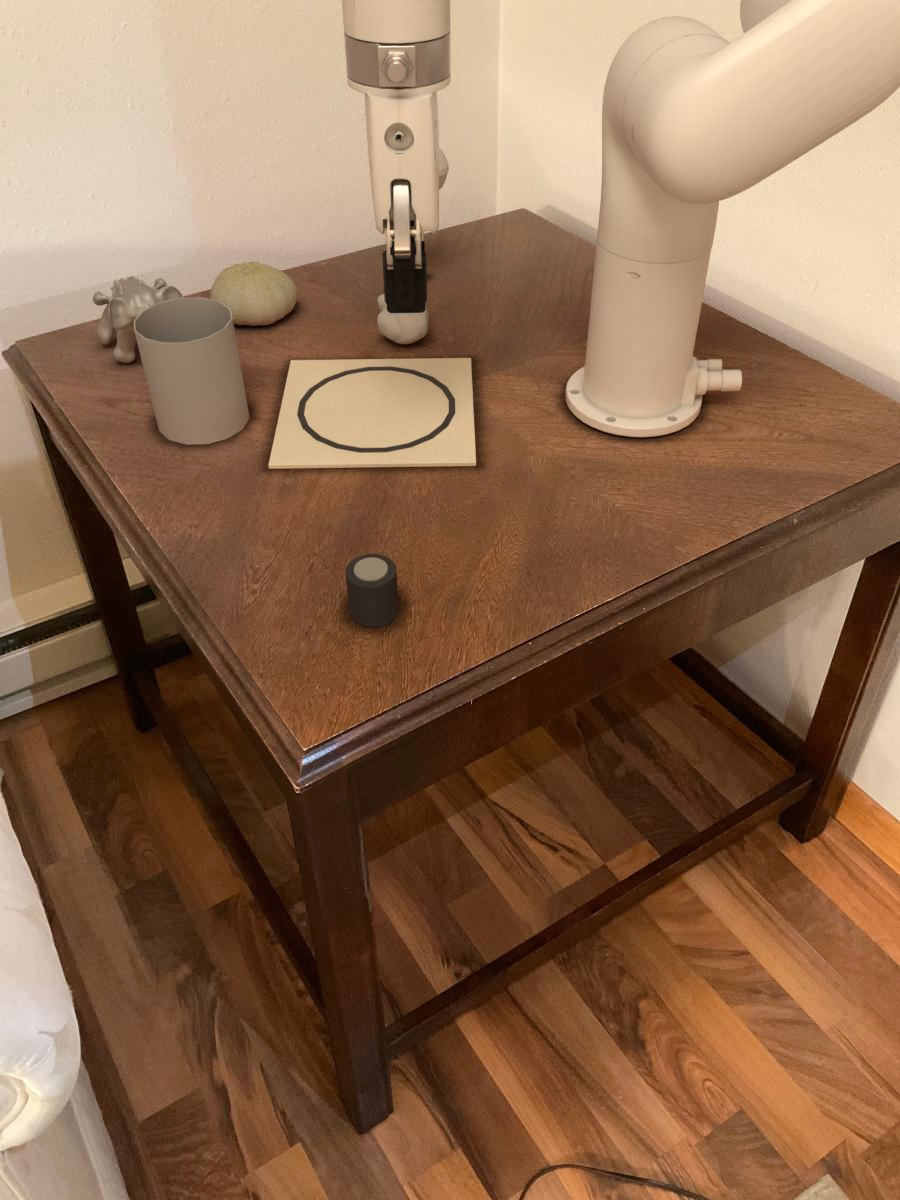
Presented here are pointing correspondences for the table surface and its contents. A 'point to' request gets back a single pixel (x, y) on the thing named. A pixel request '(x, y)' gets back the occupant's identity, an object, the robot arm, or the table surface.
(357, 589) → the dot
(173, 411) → the cup
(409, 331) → the rubber duck
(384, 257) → the black cylinder
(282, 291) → the sea urchin shell
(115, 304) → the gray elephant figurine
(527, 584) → the table surface
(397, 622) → the table surface
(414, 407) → the board
